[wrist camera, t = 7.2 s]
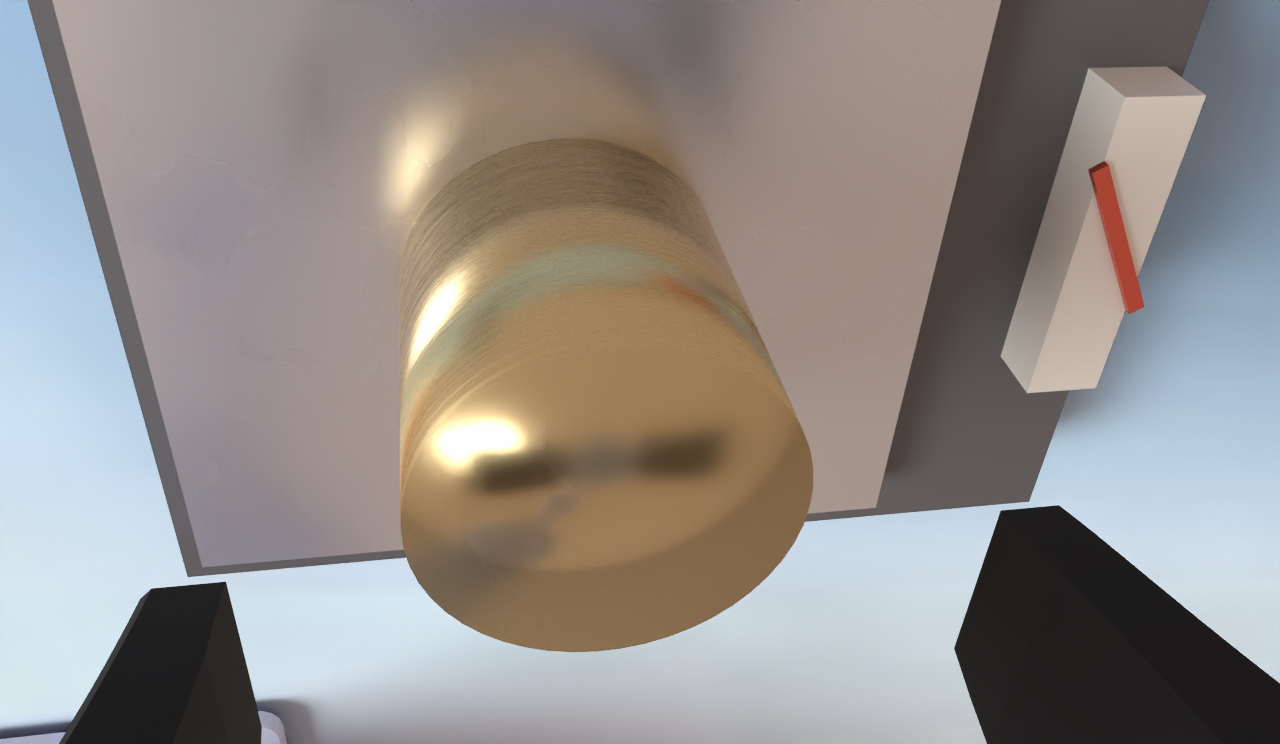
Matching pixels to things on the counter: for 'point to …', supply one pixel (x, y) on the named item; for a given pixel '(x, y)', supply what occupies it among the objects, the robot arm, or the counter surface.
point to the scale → (968, 257)
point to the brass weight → (586, 405)
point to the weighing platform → (462, 136)
